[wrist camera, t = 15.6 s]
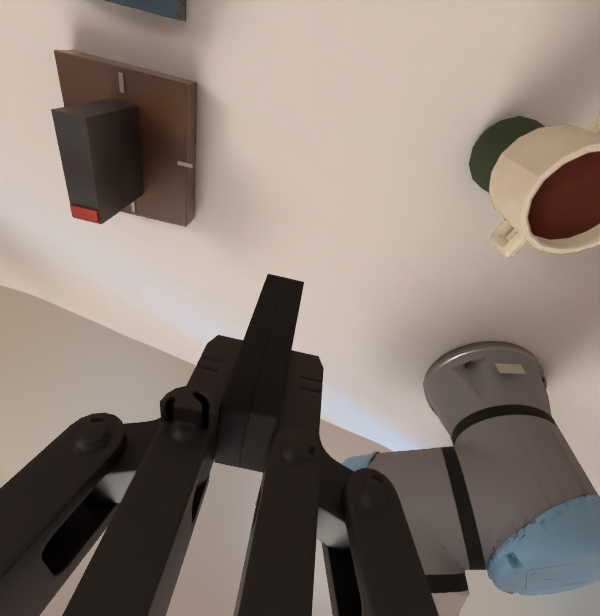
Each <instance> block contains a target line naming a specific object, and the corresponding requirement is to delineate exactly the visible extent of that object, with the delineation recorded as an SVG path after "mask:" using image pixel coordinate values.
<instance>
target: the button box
mask: <svg viewBox="0 0 600 616" xmlns="http://www.w3.org/2000/svg"><path fill="white" fill-rule="evenodd" d="M105 1H109V2H112V3H116V4H120V5H124V6H128V7H131V8H135V9H139V10H143V11H147V12H150V13H154V14H158V15H162V16H165V17H169V18H173V19H177V20H182V21H186V0H105Z"/></svg>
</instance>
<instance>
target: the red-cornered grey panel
mask: <svg viewBox="0 0 600 616" xmlns="http://www.w3.org/2000/svg"><path fill="white" fill-rule="evenodd" d="M51 111H52V116H53V120H54V125H55V130H56V135H57V140H58V145H59V150H60V155H61V160H62V165H63V170H64V175H65V180H66V185H67V190H68V195H69V200H70V207H71V212H72V217H74V218H78V219H82V220H86V221H90V222H94V223H99V224H103V223H104V222H106V221H107V220H108V219H110V218H111V217H113V216H114V215H115V214H117V213H118V212H120V211H121V210H123V209H124V208H125V207H127V206H128V205H130V204H131V203H132V202H134V201H135V200H137V199H138V198H139V197H141V196H142V195H143V180H142V165H141V150H140V135H139V119H138V106H137V105H134V104H130V103H126V102H122V101H119V100H115V99H111V98H110V99H105V100H99V101H94V102H89V103H83V104H78V105H73V106H68V107H62V108H57V109H52V110H51Z"/></svg>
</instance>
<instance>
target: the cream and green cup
mask: <svg viewBox="0 0 600 616" xmlns="http://www.w3.org/2000/svg"><path fill="white" fill-rule="evenodd" d="M469 166H470V171H471V175H472V179H473V180H474V181H475V182H476V183H477V184H478V185H479V186H480V187H481V188H482V189H484V190H486V191H488V192H489V193H490V195H491V198H492V201H493V205H494V208H495V209H496V210H497V211H498V212H499V213H500V214H501V215H502V216H503V217H504V218H505V220H504V221H503V222H502V223H501V224H500V225H499V227H498V228H497V229H496V230H495V231H494V232H493V234H492V235H491V237H490V238H491V242H492V243H493V245H494V246H495V247H496V248H497V250H498V251H499V252H500V253H501V255H502V256H504V257H511V256H513V255H514V254H516V253H517V252H518V251H519V250H520V249H521V248H522V247H523V246H524V245H525V244H526V242H527V241H528V242H529V243H530V244H531V245H532V246H534V247H535V248H536V249H539V250H543V251H547V252H551V253H555V254H559V253H572V252H580V251H583V250H585V249H588V248H591V247H594V246H597V245H600V113H599V114H598V115H597V116H596V117H595V119H594V120H593V121H592V122H591V123H590V124H589V125H588V126H587V128H586V129H582V128H578V127H575V126H571V125H568V124H563V125H556V126H549V127H545V126H544V125H542V124H541V123H539V122H538V121H536V120H533V119H529V118H525V117H521V116H519V117H514V118H510V119H505V120H501V121H499V122H498V123H496V124H495V125H493V126H492V127H490V128H489V129H487V130H486V131H484V133H483V134H482V135H481V137H480V138H479V140H478V141H477V142H476V144H475V145H474V146H473V149H472V153H471V158H470V162H469ZM514 228H515V229H516V230H517V231H518V232H517V233H516V234H515V235H514V236H513V237H512V238H511V239H510V240H509V241H508V240H507V239H506V237H507V236H508V234H509V233H510V232H511V231H512V230H513V229H514Z"/></svg>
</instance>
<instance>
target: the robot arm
mask: <svg viewBox="0 0 600 616" xmlns="http://www.w3.org/2000/svg"><path fill="white" fill-rule="evenodd" d="M303 285H304V282H301V281H297V280H293V279H288V278H284V277H280V276H275V275H271V274H268V275H267V278H266V280H265V283H264V286H263V289H262V291H261V294H260V297H259V299H258V302H257V305H256V308H255V310H254V313H253V316H252V318H251V321H250V324H249V327H248V329H247V332H246V335H245V337H244V340H239V339H234V338H230V337H225V336H221V335H218V336H216V337H215V338H214V339H213V340H211V341H210V342H209V343H208V344H207V345H206V347H205V349H204V351H203V353H202V356H201V357H200V359H199V361H198V363H197V367H196V368H195V370H194V372H193V374H192V376H191V378H190V380H189V382H188V384H187V386H184V387H180V388H176V389H174V390H172V391H171V392H169V393H167V394H166V395H165V396H164V397H163V399H162V400H161V401H160V410H161V418H159V419H156V420H153V421H148V422H140V423H127V424H123V423H122V421H121V420H120V419H119V418H118V417H116V416H115V415H112V414H108V413H96V414H91V415H88V416H85V417H83V418H80V419H79V420H78V421H76V422H75V423H73V424H72V425H70V426H69V427H68V428H67V429H66V430H65V431H64V432H63V433H62V434H60V435H59V436H58V437H57V438H56V439H55V440H54V441H53V442H51V443H50V444H49V445H48V446H47V447H46V448H45V449H44V450H43V451H41V453H39V454H38V455H37V456H36V457H35V458H34V459H33V460H31V461H30V462H29V463H28V464H27V465H26V466H25V467H24V468H23V469H21V470H20V471H19V472H18V473H17V474H16V475H15V476H14V477H13V478H11V479H10V480H9V481H8V482H7V483H6V484H5V485H4V486H3V487H1V488H0V616H39V615H40V614H41V613H42V612H43V610H44V609H45V608H46V606H47V605H48V604H49V602H50V601H51V600H52V598H53V597H54V596H55V595H56V593H57V592H58V591H59V589H60V588H61V587H62V585H63V584H64V583H65V582H66V580H67V579H68V578H69V576H70V575H71V574H72V572H73V571H74V570H75V568H76V567H77V566H78V565H79V563H80V562H81V560H82V559H83V558H84V557H85V555H86V554H87V553H88V552H89V550H90V549H91V548H92V546H93V545H94V544H95V542H96V541H97V540H98V538H99V537H100V536H101V534H102V533H103V532H104V531H105V529H106V528H107V529H106V531H105V533H104V535H103V537H102V539H101V541H100V543H99V545H98V547H97V549H96V551H95V553H94V555H93V557H92V559H91V561H90V563H89V565H88V566H87V569H86V570H85V573H84V574H83V576H82V578H81V580H80V582H79V584H78V586H77V588H76V590H75V592H74V594H73V596H72V598H71V600H70V602H69V604H68V606H67V608H66V610H65V611H64V613H63V615H62V616H166V613H167V609H168V607H169V604H170V600H171V597H172V594H173V591H174V588H175V585H176V582H177V579H178V576H179V573H180V570H181V566H182V563H183V560H184V557H185V554H186V551H187V548H188V545H189V542H190V539H191V535H192V532H193V529H194V526H195V523H196V520H197V517H198V514H199V511H200V508H201V504H202V502H203V498H204V495H205V492H206V489H207V486H208V483H209V475H210V470H211V467H212V464H213V461H214V462H216V463H221V464H225V465H230V466H235V467H239V468H244V469H249V470H254V471H258V472H263V476H262V481H261V486H260V490H259V493H258V498H257V501H256V508H255V513H254V518H253V523H252V528H251V533H250V538H249V542H248V547H247V552H246V557H245V562H244V567H243V572H242V577H241V582H240V587H239V591H238V597H237V601H236V606H235V611H234V616H312V600H313V583H314V568H315V551H316V550H315V549H316V539H318V540H320V541H321V542H322V548H323V555H324V561H325V567H326V574H327V581H328V587H329V594H330V601H331V607H332V614H333V616H459V612H460V610H461V608H462V606H463V604H464V603H465V601H466V599H467V597H468V596H469V590H468V585H467V581H466V577H465V570H487V572H488V576H489V578H490V579H491V580H492V581H493V583H494V585H495V586H496V587H497V588H498V589H500V590H502V591H504V592H507V593H510V594H513V593H519V594H520V595H544V594H552V593H558V592H563V591H568V590H572V589H576V588H580V587H583V586H586V585H589V584H591V583H594V582H596V581H598V580H600V496H598V494H597V492H596V491H595V489H594V487H593V486H592V484H591V482H590V480H589V479H588V477H587V475H586V474H585V472H584V470H583V469H582V467H581V465H580V464H579V462H578V460H577V458H576V457H575V455H574V453H573V452H572V450H571V448H570V447H569V445H568V443H567V442H566V440H565V438H564V436H563V435H562V433H561V431H560V430H559V428H558V427H557V425H556V423H555V421H554V419H553V418H552V416H551V412H550V405H549V399H548V395H547V392H546V387H547V385H546V378H545V375H544V372H543V370H542V368H541V366H540V365H539V363H538V361H537V360H536V358H535V357H534V356H533V355H532V354H531V353H530V352H528V351H527V350H525V349H523V348H521V347H519V346H516V345H513V344H509V343H503V342H481V343H475V344H470V345H466V346H463V347H460V348H458V349H455V350H453V351H451V352H449V353H447V354H445V355H444V356H442V357H441V358H440V359H438V360H437V361H436V362H435V363H434V364H433V365H432V366H431V367H430V369H429V370H428V372H427V373H426V376H425V379H424V391H425V396H426V399H427V402H428V404H429V406H430V408H431V409H432V410H433V412H434V413H435V414H436V415H437V416H438V417H439V419H440V421H441V422H442V424H443V425H444V427H445V428H446V430H447V432H448V433H449V435H450V436H451V439H452V442H453V446H452V447H440V448H430V449H420V450H409V451H398V452H386V453H380V452H373V453H372V454H368V455H361V456H355V457H350V458H348V459H346V460H345V461H344V462H343V463H342V464H340V463H339V462H337V461H336V460H334V459H333V458H331V457H330V455H328V453H327V452H326V451H325V449H324V448H323V446H322V444H321V441H320V438H319V437H320V436H319V426H320V412H321V397H322V394H321V393H322V381H323V366H322V364H321V361H320V359H319V357H318V356H315V355H310V354H306V353H301V352H297V351H292V350H291V349H292V343H293V338H294V333H295V327H296V322H297V317H298V311H299V306H300V301H301V295H302V290H303ZM214 458H215V460H214Z"/></svg>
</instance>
